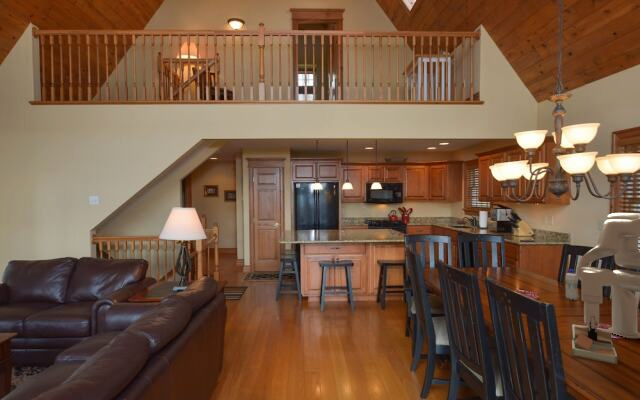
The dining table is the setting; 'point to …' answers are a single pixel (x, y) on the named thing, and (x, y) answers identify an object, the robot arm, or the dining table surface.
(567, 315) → the dining table surface
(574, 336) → the bench board
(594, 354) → the box
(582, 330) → the tan long block
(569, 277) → the bottle
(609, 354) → the tile
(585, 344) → the tile
